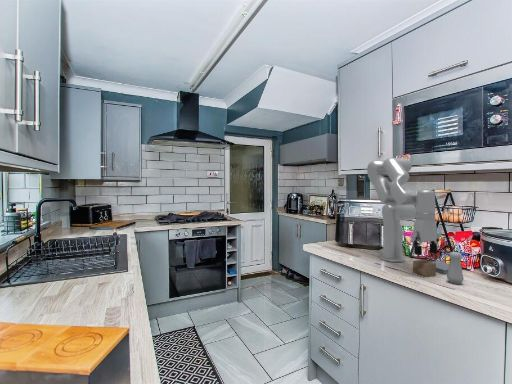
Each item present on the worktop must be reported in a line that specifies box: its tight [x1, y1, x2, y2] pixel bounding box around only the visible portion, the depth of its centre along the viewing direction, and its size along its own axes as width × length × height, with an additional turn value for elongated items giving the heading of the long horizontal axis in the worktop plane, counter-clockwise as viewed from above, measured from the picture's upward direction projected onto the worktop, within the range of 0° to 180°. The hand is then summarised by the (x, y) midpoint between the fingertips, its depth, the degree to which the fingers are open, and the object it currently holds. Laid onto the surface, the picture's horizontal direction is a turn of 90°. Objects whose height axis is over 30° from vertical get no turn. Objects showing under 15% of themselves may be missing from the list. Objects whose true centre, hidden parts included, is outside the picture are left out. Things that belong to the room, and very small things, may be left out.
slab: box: [432, 260, 463, 275], centre depth 132 cm, size 12×12×2 cm
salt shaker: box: [446, 251, 465, 285], centre depth 114 cm, size 6×6×13 cm
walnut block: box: [412, 259, 437, 278], centre depth 124 cm, size 6×6×6 cm
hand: (425, 253), depth 123 cm, fingers open, 9 cm apart
